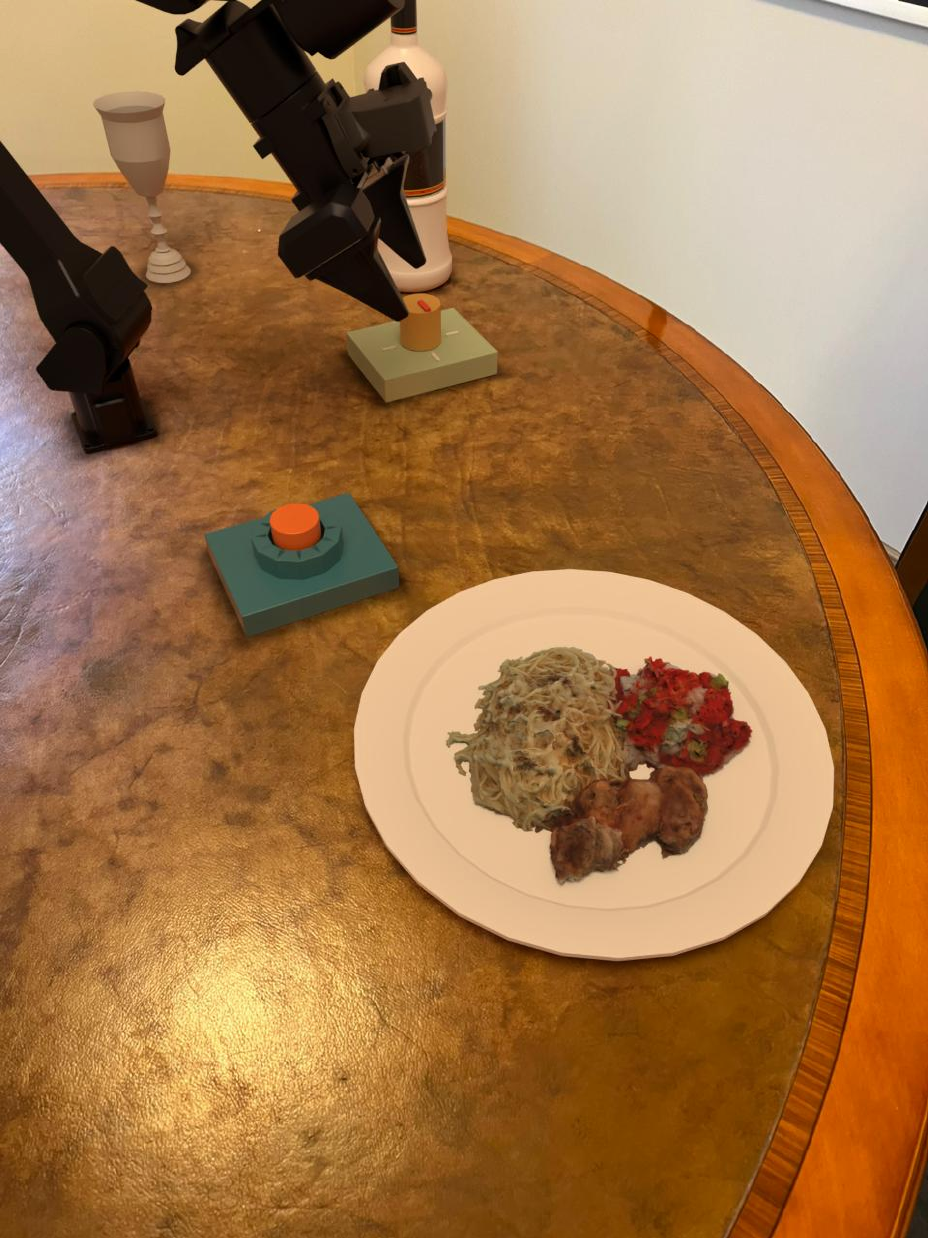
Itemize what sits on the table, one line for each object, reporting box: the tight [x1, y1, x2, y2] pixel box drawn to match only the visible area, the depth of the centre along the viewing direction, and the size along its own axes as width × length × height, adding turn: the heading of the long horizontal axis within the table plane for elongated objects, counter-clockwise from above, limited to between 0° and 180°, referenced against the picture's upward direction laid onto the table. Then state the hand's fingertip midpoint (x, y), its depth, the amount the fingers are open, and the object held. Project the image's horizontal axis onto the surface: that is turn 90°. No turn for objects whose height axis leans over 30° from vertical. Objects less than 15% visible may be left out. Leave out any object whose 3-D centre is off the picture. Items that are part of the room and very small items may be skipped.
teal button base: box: [204, 492, 400, 638], centre depth 70 cm, size 10×12×4 cm
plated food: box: [353, 568, 835, 962], centre depth 59 cm, size 30×30×3 cm
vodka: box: [362, 0, 453, 293], centre depth 96 cm, size 9×9×30 cm
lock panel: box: [345, 307, 499, 404], centre depth 93 cm, size 10×12×3 cm
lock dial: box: [400, 293, 442, 351], centre depth 90 cm, size 4×4×4 cm
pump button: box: [270, 502, 321, 551], centre depth 69 cm, size 4×4×2 cm
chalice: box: [92, 90, 192, 284], centre depth 101 cm, size 7×7×18 cm
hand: (413, 290), depth 72 cm, fingers open, 9 cm apart
